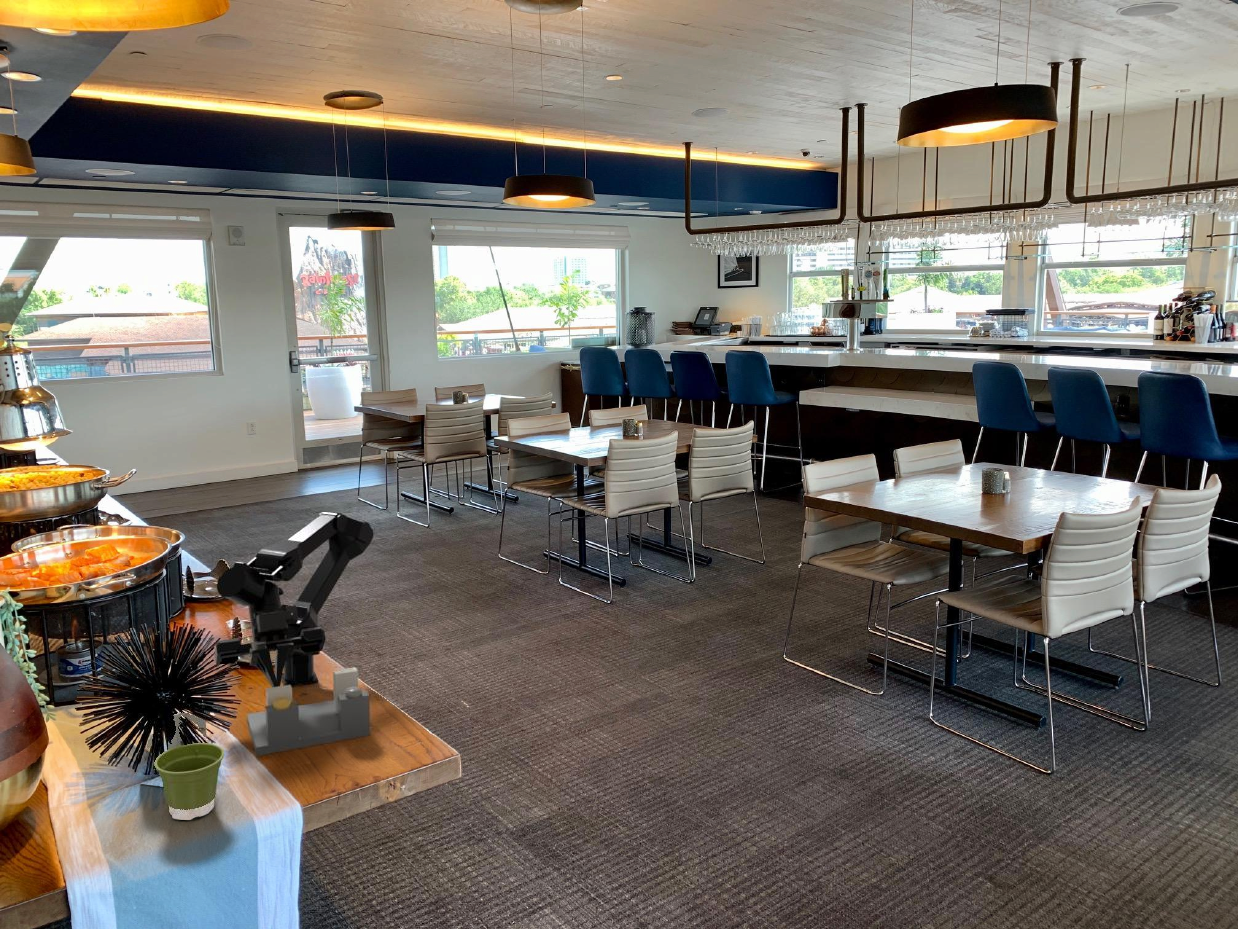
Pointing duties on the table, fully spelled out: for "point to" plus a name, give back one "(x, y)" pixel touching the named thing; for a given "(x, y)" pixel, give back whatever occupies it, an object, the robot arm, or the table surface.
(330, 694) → the table surface
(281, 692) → the tall white block
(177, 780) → the plant pot
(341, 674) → the cream upright block
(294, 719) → the grey holder stand
